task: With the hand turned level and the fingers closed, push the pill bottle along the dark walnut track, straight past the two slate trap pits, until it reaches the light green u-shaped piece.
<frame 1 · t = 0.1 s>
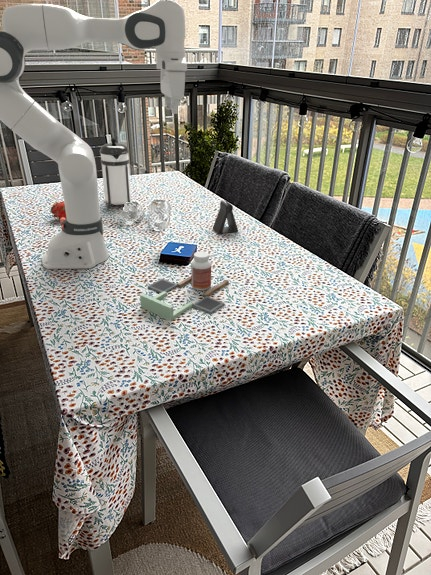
hand: (171, 111, 142), 48 cm above the table, tool pointing down, fingers open, 8 cm apart
phone stand: (225, 231, 184), on the table
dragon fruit: (66, 219, 191), on the table
pill bottle: (201, 286, 141), on the table
light green u-shaped piece: (167, 300, 128), on the table
coffee press: (117, 203, 211), on the table
walnut track: (203, 283, 141), on the table
trap pits: (186, 294, 136), on the table
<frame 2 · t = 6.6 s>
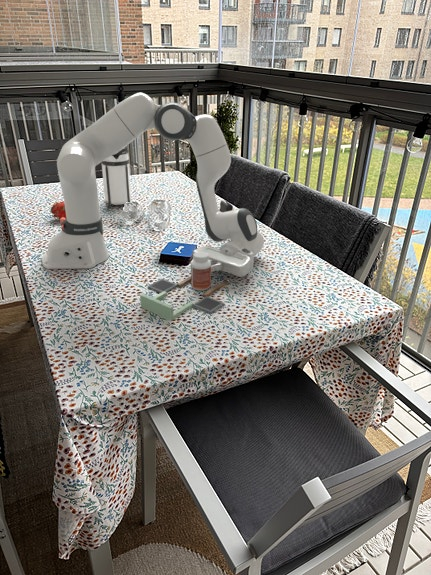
hand: (206, 268, 141), 5 cm above the table, tool horizontal, fingers closed, pressing on pill bottle
pill bottle: (200, 287, 141), on the table, touching gripper
everything else where it was.
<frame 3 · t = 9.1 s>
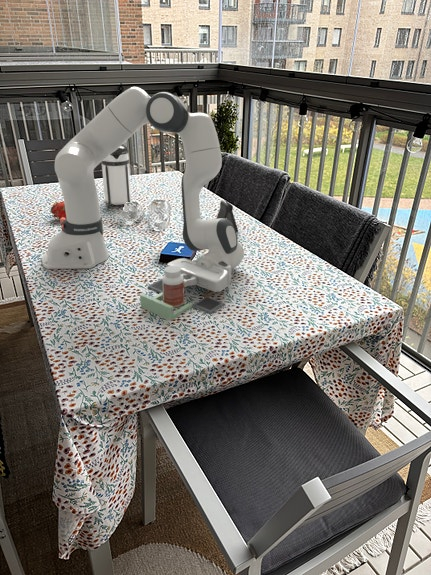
hand: (180, 283, 131), 5 cm above the table, tool horizontal, fingers closed, pressing on pill bottle
pill bottle: (173, 303, 131), on the table, touching gripper
everything else where it was.
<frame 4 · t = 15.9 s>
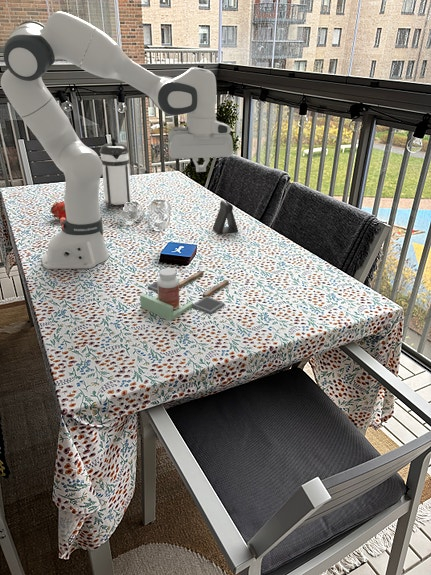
hand: (200, 171, 144), 31 cm above the table, tool pointing down, fingers closed
pill bottle: (168, 306, 130), on the table
everything else where it was.
at the end: pill bottle inside the target area (0.6 cm from its centre), on the table; pill bottle tilted 0° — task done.
